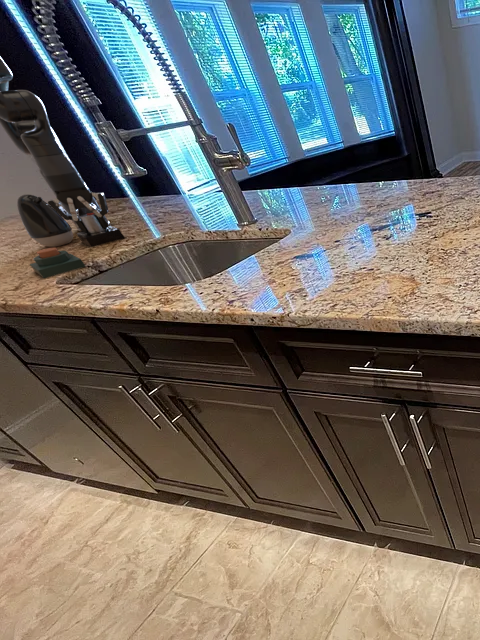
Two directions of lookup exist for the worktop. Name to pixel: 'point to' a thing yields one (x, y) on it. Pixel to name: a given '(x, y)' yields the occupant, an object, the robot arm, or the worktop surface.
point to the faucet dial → (91, 223)
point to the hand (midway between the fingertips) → (97, 230)
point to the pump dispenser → (43, 222)
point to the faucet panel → (101, 236)
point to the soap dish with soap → (56, 264)
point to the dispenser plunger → (48, 252)
